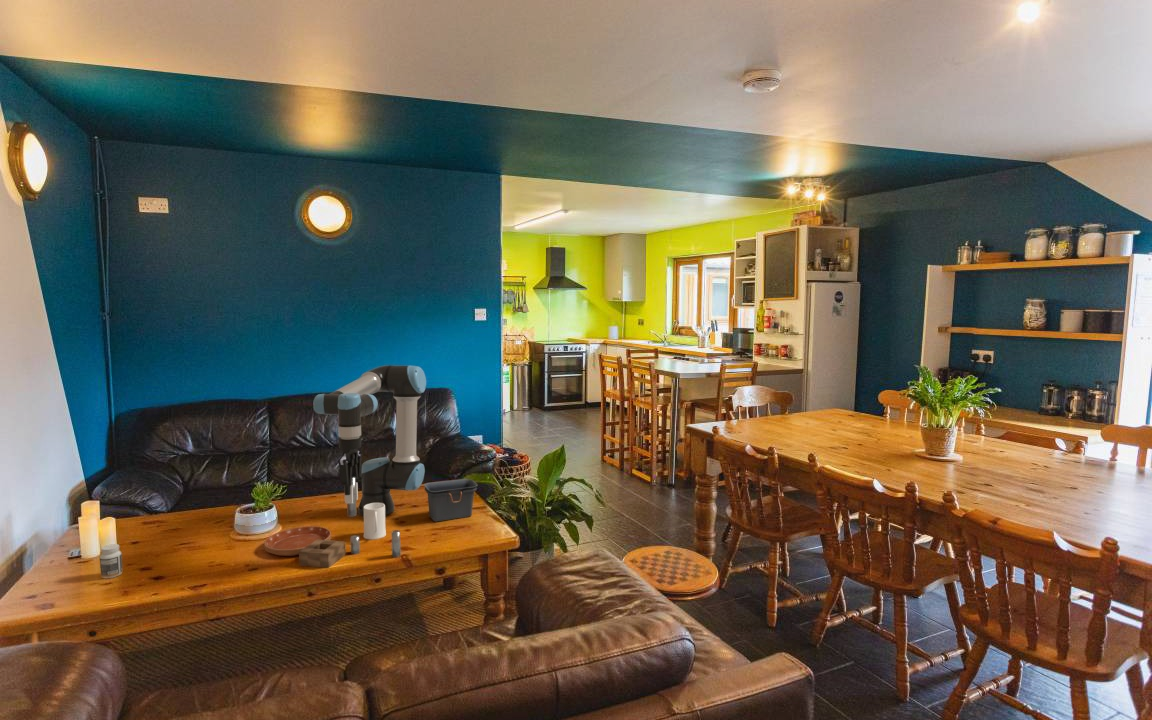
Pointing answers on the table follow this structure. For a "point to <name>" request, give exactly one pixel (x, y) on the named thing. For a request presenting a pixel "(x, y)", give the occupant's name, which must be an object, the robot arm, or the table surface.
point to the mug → (374, 521)
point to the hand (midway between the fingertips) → (351, 501)
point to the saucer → (295, 540)
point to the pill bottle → (111, 561)
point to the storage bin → (450, 499)
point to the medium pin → (396, 543)
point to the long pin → (352, 507)
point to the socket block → (322, 553)
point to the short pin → (355, 544)
